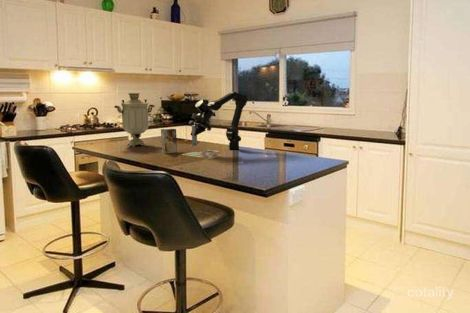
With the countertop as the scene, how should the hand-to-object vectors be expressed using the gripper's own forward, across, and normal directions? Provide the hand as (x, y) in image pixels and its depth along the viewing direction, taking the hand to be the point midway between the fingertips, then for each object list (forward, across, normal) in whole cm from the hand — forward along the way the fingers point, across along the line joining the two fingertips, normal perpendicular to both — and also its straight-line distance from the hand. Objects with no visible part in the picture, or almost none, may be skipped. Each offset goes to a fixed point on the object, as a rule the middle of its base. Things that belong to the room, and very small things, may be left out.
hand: (192, 135), depth 257 cm
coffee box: (+12, -24, +7) cm, 27 cm away
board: (+8, +6, +11) cm, 15 cm away
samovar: (+12, -71, +7) cm, 72 cm away
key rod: (+4, 0, +6) cm, 7 cm away
